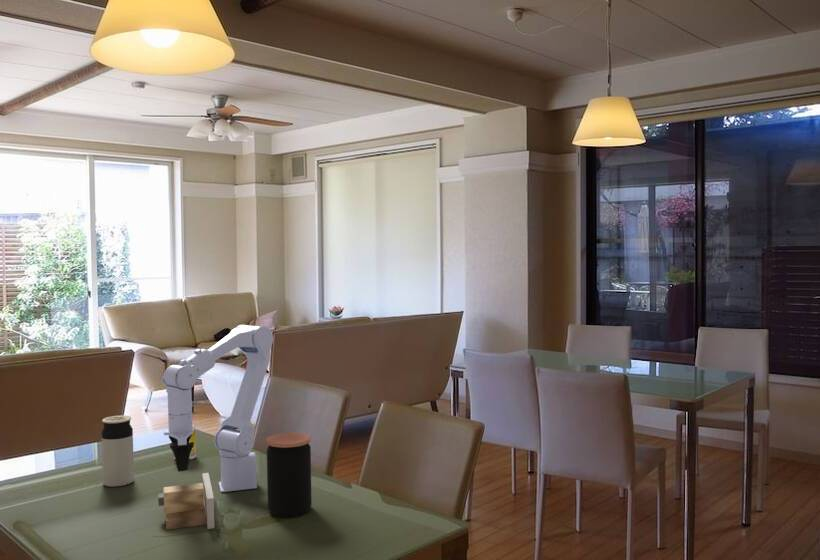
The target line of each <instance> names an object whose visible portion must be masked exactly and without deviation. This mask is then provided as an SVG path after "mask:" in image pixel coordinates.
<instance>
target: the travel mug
mask: <svg viewBox="0 0 820 560" xmlns="http://www.w3.org/2000/svg"><path fill="white" fill-rule="evenodd" d="M131 420H132V417H131V415H130V416H129V415H113V416H107V417H104V418H103V419H102V420H101V421H102V423H103V428H102V430H101V456H102V457H101V460H102V465H101V466H102V484H103V485H104V486H106V487H108V488H109V487H110V488H117V487H118V486H119V487H123V486H127V484H128V485H129V484H131V483H133V482H134V481H135V467H134V466H135V465H134V464H135V463H134V435H133V434H134V431H133V427H132V425H131Z"/></svg>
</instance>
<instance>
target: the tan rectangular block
mask: <svg viewBox="0 0 820 560" xmlns="http://www.w3.org/2000/svg"><path fill="white" fill-rule="evenodd" d="M157 494H158V507H163V512H164V513H163V514H164V515H166V514H169V513H177V512H185V511H193V510H201V509H204V494H203V482H198V483H191V484H180V485H172V486H164V487H163V492H162V493H161V492H160V493H157Z"/></svg>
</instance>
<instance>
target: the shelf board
mask: <svg viewBox="0 0 820 560" xmlns="http://www.w3.org/2000/svg"><path fill="white" fill-rule="evenodd" d="M209 473H210V472H203V473H201V475H202V476H201V477H202V484H203V494H204V502H205V508H206V514H207V524H206V526H207V530H210V529H211V530H212V529H215V498H214V492H213V488H212V483H211V479H210V474H209Z"/></svg>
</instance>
